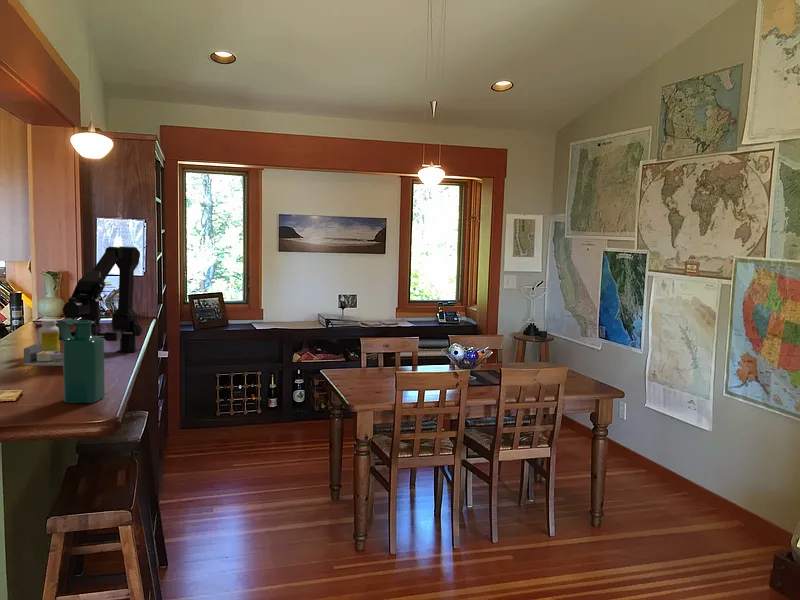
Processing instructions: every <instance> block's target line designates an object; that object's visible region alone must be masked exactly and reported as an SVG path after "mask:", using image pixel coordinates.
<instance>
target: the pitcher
mask: <svg viewBox="0 0 800 600" xmlns="http://www.w3.org/2000/svg"><path fill="white" fill-rule="evenodd" d="M57 324H58V325H57V327H58V328H59V334H60V337H61V339H62V340H61V341H63V344H62V354H63V366H62V372H63V402H64V403H65V404H76V403H91V404H95V403H97V402H98V401H100V400H101V398H102V399H104V398H105V394H106V393H105V391H106V389H105V340H104V341H103V339H104V338H103V339H102V338H100V337H96V336H92V334H91V324H94V321H92V320H80V319H78V320H74V319H72V318H65V319H64V318H63V319H61V320H58V321H57ZM70 327H75V329H76V335H75V337H73V336H72V335H71V333H70V330H71V329H70ZM96 401H97V402H96ZM94 402H95V403H94Z"/></svg>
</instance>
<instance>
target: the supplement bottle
mask: <svg viewBox="0 0 800 600" xmlns="http://www.w3.org/2000/svg"><path fill="white" fill-rule="evenodd" d="M40 322H41V325H42V326H41V327H39V328H38V344H42V351H55V353H61V340H59V327H58V326H57V319H41V321H40Z"/></svg>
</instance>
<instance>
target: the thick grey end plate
mask: <svg viewBox="0 0 800 600" xmlns="http://www.w3.org/2000/svg"><path fill="white" fill-rule="evenodd" d="M53 359H63V352H62V353H61V352H60V353H55V351H42V352H40V353H37V361H51V360H53Z"/></svg>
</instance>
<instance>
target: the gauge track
mask: <svg viewBox="0 0 800 600" xmlns="http://www.w3.org/2000/svg"><path fill="white" fill-rule="evenodd" d="M40 352H42V344H39V343H35V344H32V345H29V346H27V347H25V348H24V347H23V363H22V364H23V365H22V366H44V367H45V366H49V367H50V366H52V367H53V366H55V367H56V366H58V367H60V366H62V367H63V359H53V360H51V361H37V353H40Z"/></svg>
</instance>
